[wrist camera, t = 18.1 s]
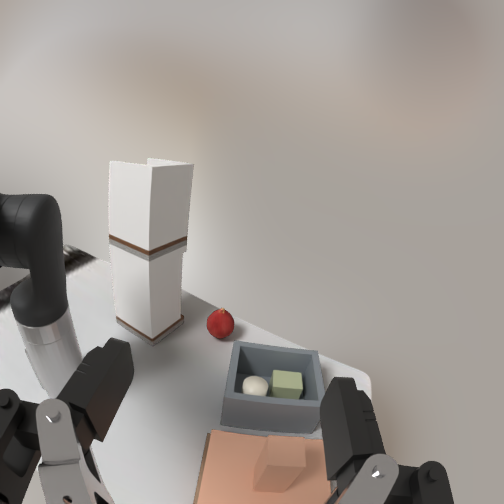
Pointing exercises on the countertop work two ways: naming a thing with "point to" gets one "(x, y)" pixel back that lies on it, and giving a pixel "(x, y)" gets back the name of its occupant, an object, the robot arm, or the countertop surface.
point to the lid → (263, 470)
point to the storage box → (273, 389)
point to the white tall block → (148, 243)
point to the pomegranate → (220, 323)
